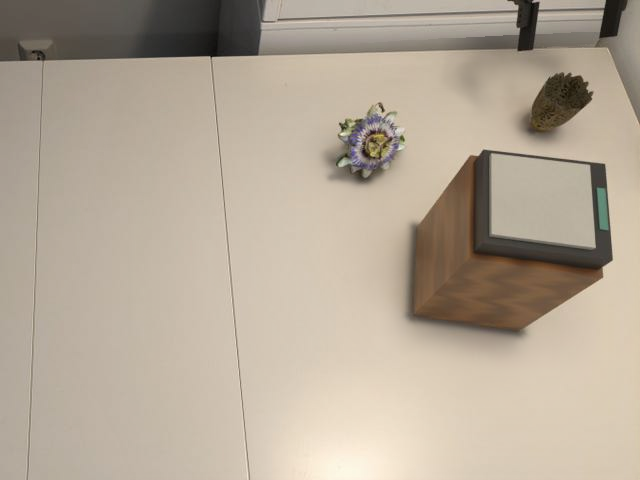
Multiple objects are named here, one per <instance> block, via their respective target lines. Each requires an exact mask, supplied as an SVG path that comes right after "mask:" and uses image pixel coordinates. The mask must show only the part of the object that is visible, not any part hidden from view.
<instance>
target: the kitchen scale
mask: <svg viewBox="0 0 640 480" xmlns="http://www.w3.org/2000/svg"><path fill="white" fill-rule="evenodd" d="M477 156H478V157H477V158H476V160H475V161H474V253H480V254H487V255H494V256H502V257H509V258H517V259H524V260H531V261H539V262H546V263H554V264H561V265H568V266H576V267H583V268H590V269H598V270H599V269H601V268H602V267H603V268H604V267H605V266H607V265H608V264H610V263H611V262H613V261H614V256H613V255H614V254H613V244H612V242H613V241H612V231H611V219H610V205H609V192H608V179H607V167H606V166H607V165H606V163H603V162H602V163H601V162H594V161H585V160H577V159H567V158H559V157H551V156H550V157H549V156H543V155H534V154H528V153H527V154H525V153H518V152H517V153H516V152H508V151H500V150H492V149H484V148H483V149H482V150H481V152H480V153H479V154H478V155H477Z"/></svg>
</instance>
